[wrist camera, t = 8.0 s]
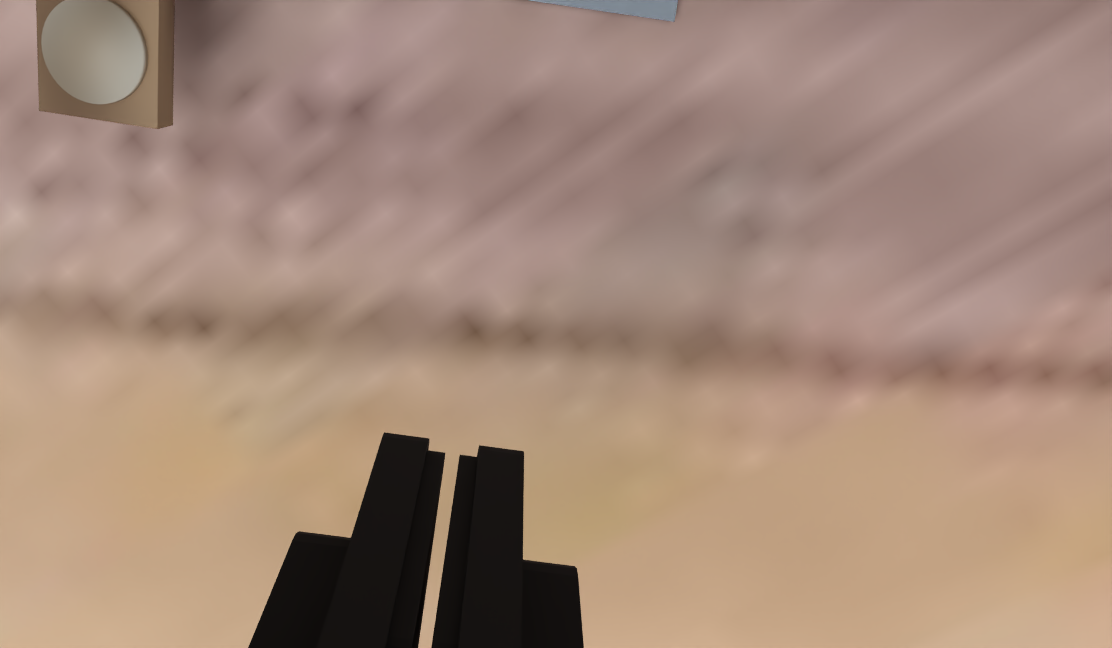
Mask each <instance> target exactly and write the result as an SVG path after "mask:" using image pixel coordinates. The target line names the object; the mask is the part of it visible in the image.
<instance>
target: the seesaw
mask: <svg viewBox="0 0 1112 648" xmlns="http://www.w3.org/2000/svg"><path fill="white" fill-rule="evenodd" d="M36 11H37V48H38V85H39V111H45V112H51V113H58V114H64V115H70V116H77V117H83V118H90V119H96V120H103V121H109V122H115V123H122V124H128V125H135V126H141V127H147V128H154V129H159V128H163V127H167V126H171V125H173V73H174V11H175V0H36Z"/></svg>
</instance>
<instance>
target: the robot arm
mask: <svg viewBox="0 0 1112 648" xmlns="http://www.w3.org/2000/svg"><path fill="white" fill-rule="evenodd" d="M428 448H429V439H428V438H421V437H413V436H406V435H399V434H391V433H384V434H383V437H382V440H381V443H380V446H379V449H378V453H377V456H376V459H375V462H374V466H373V469H372V472H371V475H370V478H369V482H368V485H367V488H366V491H365V495H364V498H363V501H362V504H361V507H360V511H359V514H358V517H357V520H356V524H355V527H354V530H353V533H352V536H351V538H347V537H339V536H331V535H323V534H315V533H307V532H300V531H299V532H297V533H296V534H295V536H294V538H293V540H292V543H291V545H290V547H289V550H288V552H287V555H286V557H285V560H284V562H283V565H282V567H281V569H280V572H279V574H278V577H277V579H276V582H275V584H274V586H273V589H272V591H271V594H270V596H269V599H268V601H267V604H266V606H265V608H264V611H263V613H262V616H261V618H260V621H259V623H258V625H257V628H256V630H255V633H254V635H253V638H252V640H251V643H250V645H249V647H248V648H418V644H419V637H420V630H421V623H422V616H423V609H424V601H425V594H426V587H427V580H428V573H429V566H430V559H431V552H432V545H433V538H434V531H435V523H436V516H437V509H438V502H439V495H440V488H441V481H442V474H443V467H444V460H445V453H443V452H435V451H428ZM523 490H524V451H517V450H509V449H502V448H495V447H487V446H480V445H479V449H478V455H477V457H472V456H465V455H460V457H459V464H458V471H457V477H456V484H455V491H454V498H453V505H452V512H451V518H450V525H449V532H448V539H447V546H446V552H445V559H444V566H443V573H442V580H441V587H440V593H439V600H438V607H437V614H436V621H435V628H434V634H433V641H432V648H584V646H583V633H582V621H581V608H580V595H579V582H578V573H577V568H576V567H575V566H568V565H560V564H552V563H544V562H537V561H529V560H523Z"/></svg>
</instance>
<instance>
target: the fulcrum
mask: <svg viewBox="0 0 1112 648" xmlns="http://www.w3.org/2000/svg"><path fill="white" fill-rule="evenodd" d="M530 1H537V2H544V3H550V4H557V5H564V6H571V7H578V8H585V9H591V10H598V11H605V12H612V13H619V14H625V15H632V16H639V17H646V18H653V19H660V20H666V21H673V22H674V20H675V15H676V9H677V3H678V0H530Z"/></svg>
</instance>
